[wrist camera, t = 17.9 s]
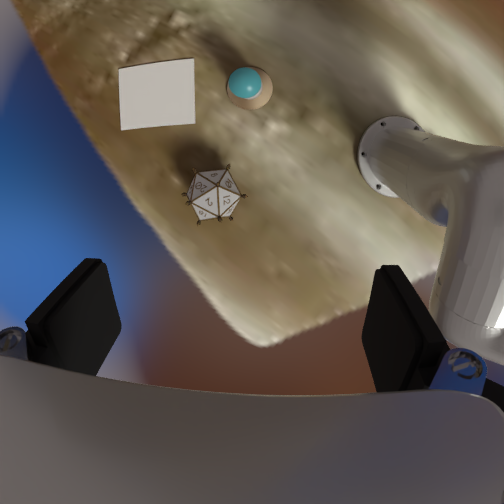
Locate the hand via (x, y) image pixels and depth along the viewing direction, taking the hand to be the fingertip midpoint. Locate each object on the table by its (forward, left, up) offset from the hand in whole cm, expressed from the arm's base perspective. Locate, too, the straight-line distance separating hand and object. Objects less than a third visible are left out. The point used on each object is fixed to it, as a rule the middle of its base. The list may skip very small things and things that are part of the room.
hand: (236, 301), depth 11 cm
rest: (+2, -9, -38) cm, 39 cm away
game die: (+7, +6, -38) cm, 40 cm away
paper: (+16, -9, -38) cm, 42 cm away
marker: (+2, -9, -38) cm, 39 cm away
